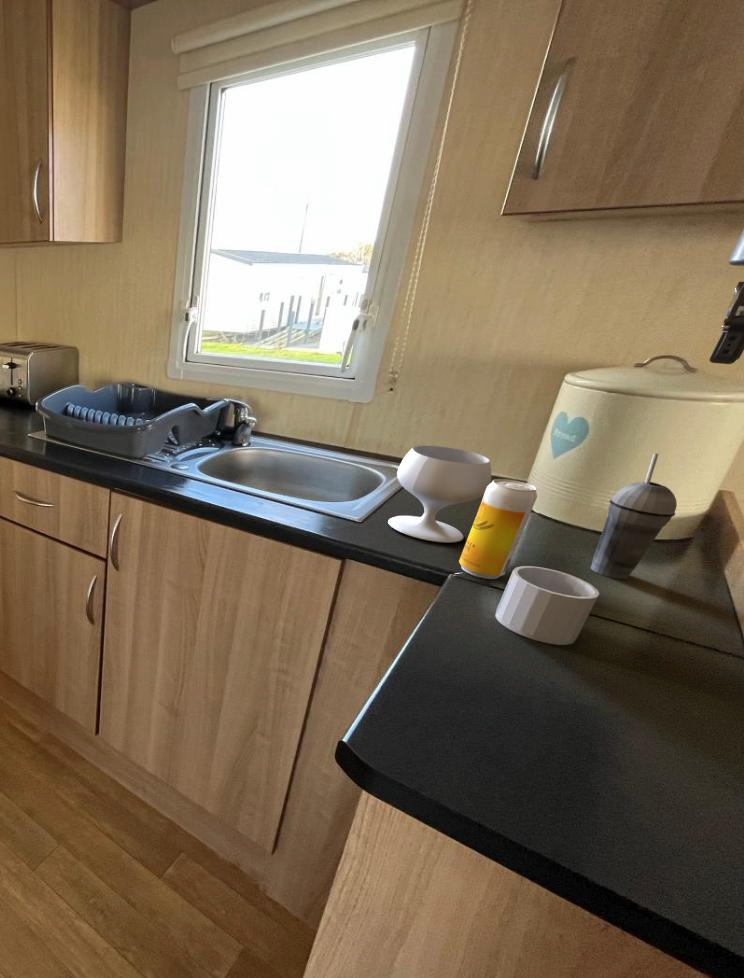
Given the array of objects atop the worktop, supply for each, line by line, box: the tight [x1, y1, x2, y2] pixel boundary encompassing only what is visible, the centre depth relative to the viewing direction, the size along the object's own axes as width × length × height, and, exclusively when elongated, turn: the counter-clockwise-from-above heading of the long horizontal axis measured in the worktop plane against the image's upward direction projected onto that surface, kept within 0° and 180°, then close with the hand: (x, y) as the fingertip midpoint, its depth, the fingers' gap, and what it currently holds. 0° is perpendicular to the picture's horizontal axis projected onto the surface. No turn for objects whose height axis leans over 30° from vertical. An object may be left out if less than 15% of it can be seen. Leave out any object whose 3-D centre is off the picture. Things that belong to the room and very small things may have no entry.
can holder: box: [494, 565, 600, 646], centre depth 73 cm, size 9×9×7 cm
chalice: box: [387, 445, 492, 543], centre depth 101 cm, size 14×14×15 cm
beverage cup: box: [590, 452, 678, 580], centre depth 86 cm, size 7×7×20 cm
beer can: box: [458, 478, 538, 580], centre depth 86 cm, size 6×6×15 cm
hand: (723, 361), depth 72 cm, fingers open, 8 cm apart
